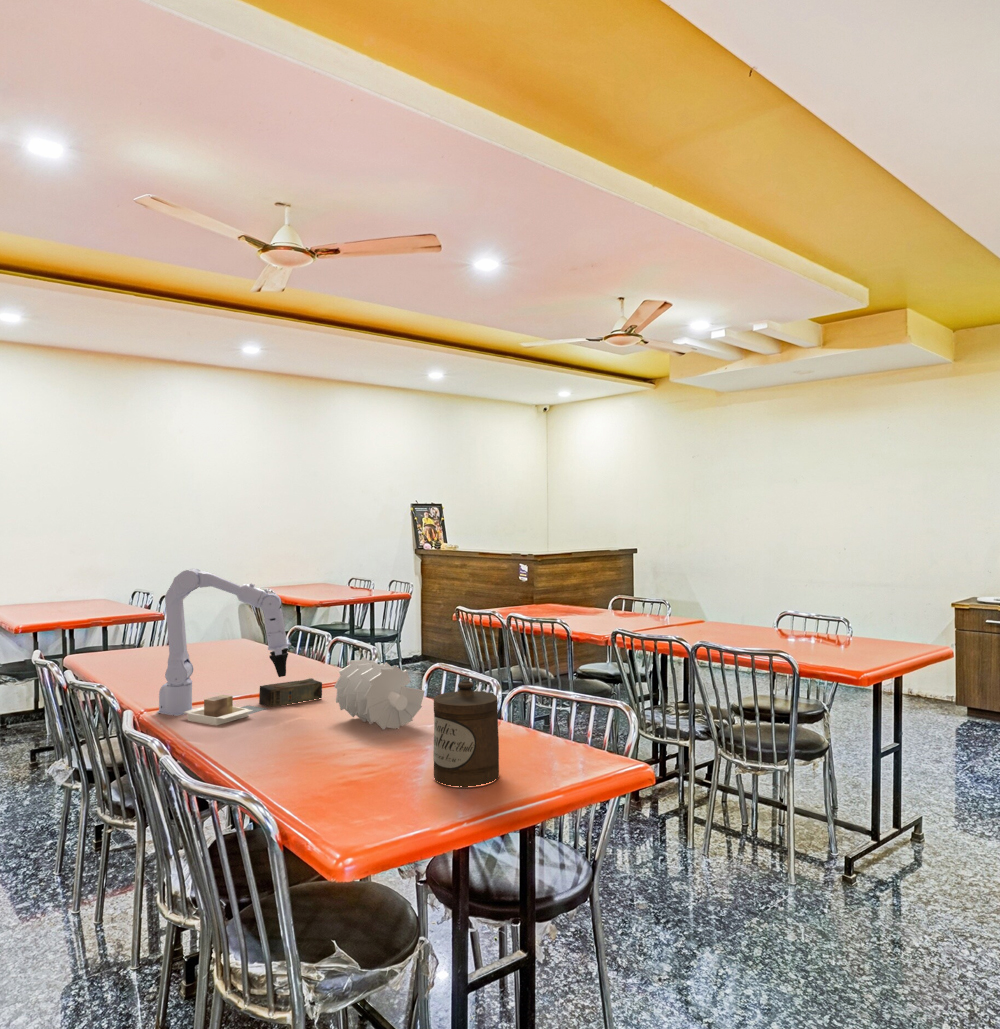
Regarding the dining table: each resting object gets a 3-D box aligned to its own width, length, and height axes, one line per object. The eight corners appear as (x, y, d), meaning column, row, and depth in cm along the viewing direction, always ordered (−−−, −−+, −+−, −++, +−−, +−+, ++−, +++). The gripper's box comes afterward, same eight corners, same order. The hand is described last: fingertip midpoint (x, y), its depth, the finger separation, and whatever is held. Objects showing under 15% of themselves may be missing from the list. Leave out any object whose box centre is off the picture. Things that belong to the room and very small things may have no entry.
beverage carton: (323, 699, 246) (323, 679, 246) (269, 709, 233) (269, 688, 233) (311, 696, 252) (311, 676, 252) (257, 705, 239) (257, 684, 239)
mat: (225, 712, 228) (225, 711, 228) (247, 706, 236) (247, 705, 236) (246, 716, 223) (246, 715, 223) (268, 709, 231) (268, 708, 231)
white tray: (181, 720, 218) (181, 712, 218) (214, 711, 229) (214, 703, 229) (222, 727, 211) (222, 719, 211) (254, 718, 221) (254, 709, 221)
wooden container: (420, 777, 169) (420, 680, 169) (468, 763, 179) (468, 671, 179) (463, 794, 158) (463, 690, 158) (512, 777, 168) (512, 680, 169)
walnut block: (213, 721, 216) (213, 700, 216) (204, 720, 218) (204, 699, 218) (232, 716, 222) (232, 696, 222) (223, 714, 224) (223, 694, 224)
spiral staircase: (386, 748, 204) (342, 725, 223) (434, 711, 214) (388, 692, 233) (362, 693, 199) (320, 674, 218) (413, 658, 209) (368, 643, 228)
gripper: (288, 632, 228) (295, 675, 228) (288, 626, 242) (294, 667, 242) (265, 636, 226) (271, 680, 226) (266, 630, 240) (272, 672, 240)
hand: (282, 674), depth 234 cm, fingers open, 7 cm apart
